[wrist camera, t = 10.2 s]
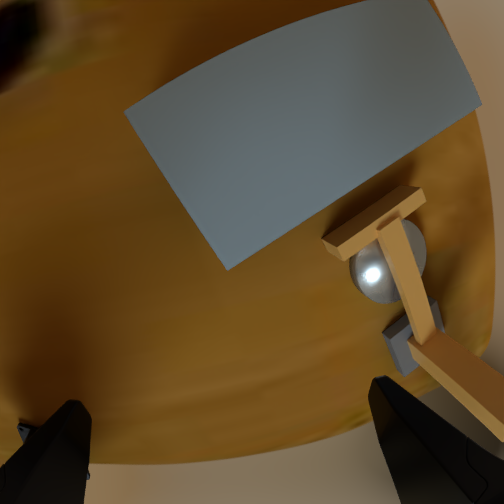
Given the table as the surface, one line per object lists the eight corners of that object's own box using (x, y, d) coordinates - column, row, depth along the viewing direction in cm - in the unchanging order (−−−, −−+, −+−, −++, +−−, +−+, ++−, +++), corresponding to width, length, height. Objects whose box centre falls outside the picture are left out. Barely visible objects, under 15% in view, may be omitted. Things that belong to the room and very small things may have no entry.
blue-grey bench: (429, 112, 19) (482, 104, 14) (218, 242, 19) (227, 270, 13) (377, 18, 16) (420, -10, 11) (144, 129, 16) (123, 111, 11)
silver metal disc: (405, 296, 22) (415, 303, 21) (340, 295, 21) (348, 303, 20) (421, 221, 21) (433, 224, 20) (355, 210, 20) (366, 212, 19)
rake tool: (446, 329, 24) (544, 400, 12) (388, 376, 24) (475, 473, 12) (400, 184, 20) (562, 213, 8) (321, 238, 20) (471, 327, 8)
